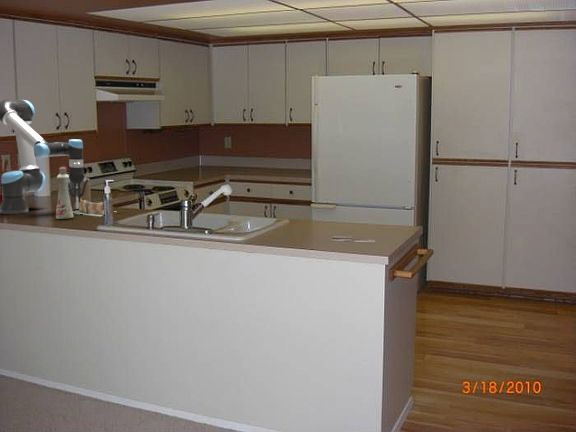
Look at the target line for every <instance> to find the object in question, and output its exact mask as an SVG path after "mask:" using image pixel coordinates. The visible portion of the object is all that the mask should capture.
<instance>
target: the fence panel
mask: <svg viewBox="0 0 576 432" xmlns="http://www.w3.org/2000/svg"><path fill="white" fill-rule="evenodd" d="M80 200H81V202H80V203H79V210H78V211H82V212H85V213H86V202H85V201H86V200H83V201H82V199H81V198H80Z"/></svg>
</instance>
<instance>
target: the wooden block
mask: <svg viewBox="0 0 576 432" xmlns="http://www.w3.org/2000/svg"><path fill="white" fill-rule="evenodd" d="M87 179H88V182H87V184H86V188H85V192H84V195H83V196H81V197H80V199H82V201H83V200H86V201H88V202H90V203H92V200H91V199H92V198H91V181H90V178H87ZM83 185H84V179H83V181H82V182H81V183H80V194H81V193H82V189H83ZM73 208H74V210H75V209H76V203H73Z"/></svg>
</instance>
